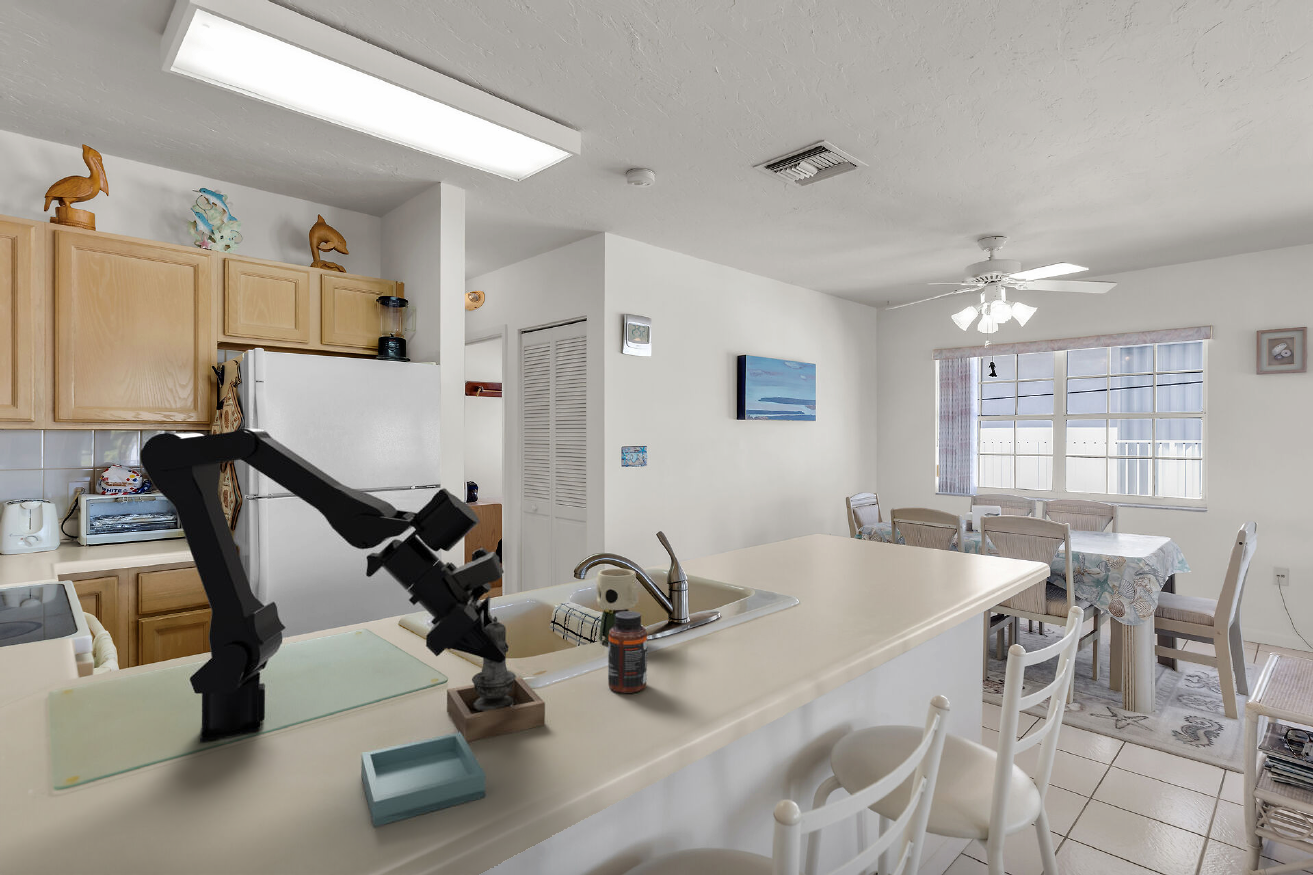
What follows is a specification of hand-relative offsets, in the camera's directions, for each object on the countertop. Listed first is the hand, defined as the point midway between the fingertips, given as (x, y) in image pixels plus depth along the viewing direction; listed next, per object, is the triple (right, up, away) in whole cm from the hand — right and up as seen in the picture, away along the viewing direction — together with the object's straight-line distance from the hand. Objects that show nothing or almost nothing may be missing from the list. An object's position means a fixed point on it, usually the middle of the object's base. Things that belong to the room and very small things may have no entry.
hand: (504, 655), depth 90 cm
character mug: (+13, -8, +33) cm, 36 cm away
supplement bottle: (+16, -9, +11) cm, 22 cm away
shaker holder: (-1, -9, 0) cm, 9 cm away
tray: (-5, -9, -17) cm, 20 cm away
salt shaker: (-2, -7, 0) cm, 7 cm away
